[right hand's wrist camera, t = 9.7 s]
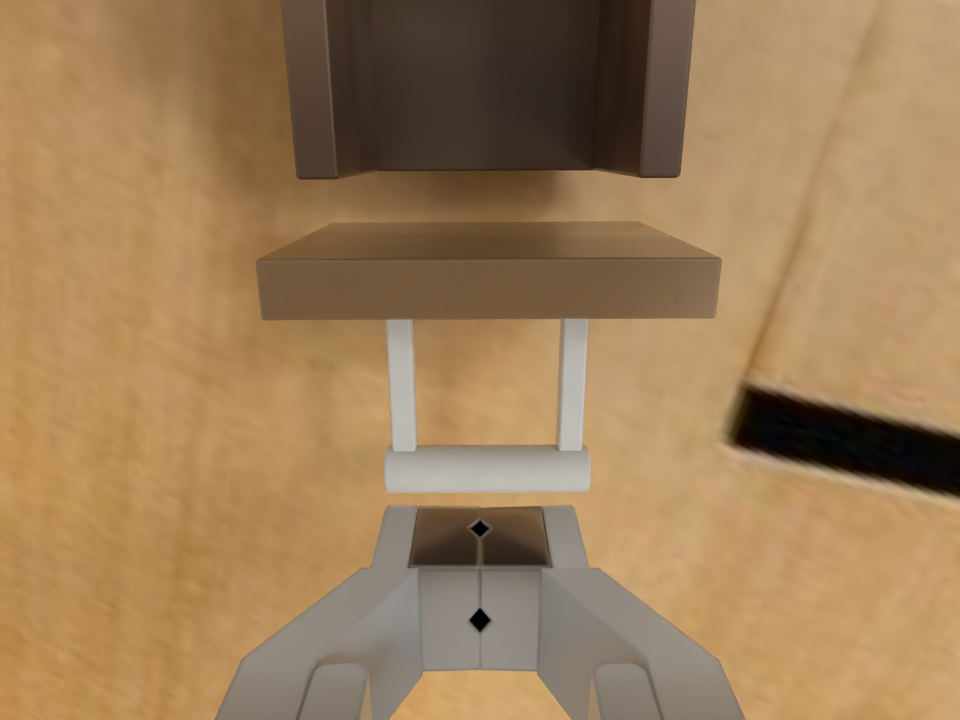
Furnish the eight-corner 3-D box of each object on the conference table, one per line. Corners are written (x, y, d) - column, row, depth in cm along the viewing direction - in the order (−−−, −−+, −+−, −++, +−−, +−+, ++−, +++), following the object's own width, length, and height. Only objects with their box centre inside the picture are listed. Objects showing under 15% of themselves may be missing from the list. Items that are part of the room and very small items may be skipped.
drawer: (624, 428, 21) (689, 552, 14) (346, 430, 21) (287, 554, 14) (694, -547, 14) (882, -1154, 7) (273, -546, 14) (95, -1153, 7)
